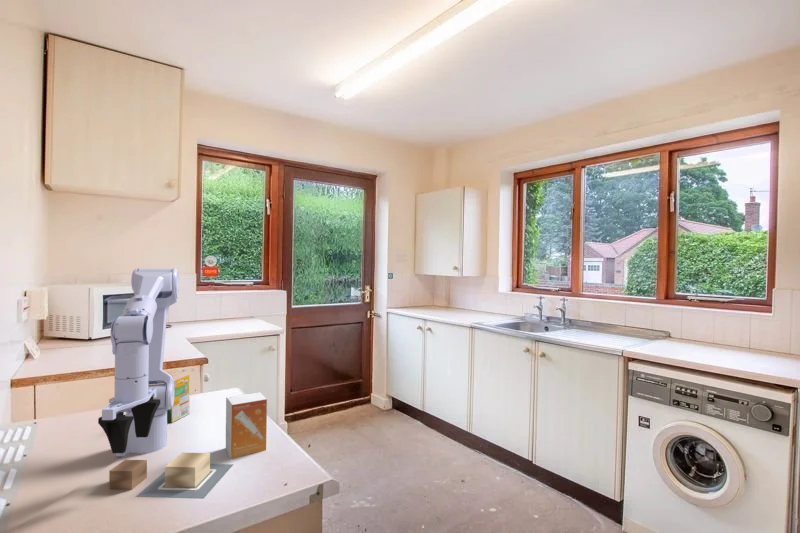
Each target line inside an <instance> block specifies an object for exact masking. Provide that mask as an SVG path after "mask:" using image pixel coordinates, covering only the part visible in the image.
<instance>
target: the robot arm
mask: <svg viewBox="0 0 800 533" xmlns="http://www.w3.org/2000/svg"><path fill="white" fill-rule="evenodd" d="M179 288H180V273H179V270H178V269H177V268H175V267H174V268H139V267H136V268H135V269H134V270H132V274H131V289H132V292H133V294H134V296H132V297H130V298H129V299H128V301H127V302H126V304H125V307H124V309H123V311H122V313H121V315H120V316H117V318H114V319H113V320H112V322H111V326H110V342H111V346H112V349H111V350H112V355H113V356H114V397H111V398H109V399H108V405H107V406H106V407H105V408H103V409H102V410H101V416H99V417H98V419H97V420H98V421H97V423H98V425H99V426H100V427H101V428H102V430H103V432H104V433H105V435H106V437H107V441H108V443H109V447H110V449H111V453H112V454H115V456H116V457H124V456H126V455H127V454H128V453H129V454H130V453H131V454H132V453H133V454H136V455H144V454H145V455H146V454H151V453H155V452H159V451H160V450H162V449H164V448H165V447H167V446H168V423H167V410H170V409H171V408H172V407H173V404H174V381H175V380H174V378H173V376H172V375H171V374H170V373H167V372H166V371H165V370H163V368H164V367H163V366H164V357H165V356H164V355H165V343H166V342H165V341H166V332H167V331H166V330H167V320H168V318H167V317H168V314H169V309H170V307H171V306H172V305H175V304H176V303H177V301H178V298H179ZM124 413H126V414H124Z"/></svg>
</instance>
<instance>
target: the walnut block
mask: <svg viewBox="0 0 800 533" xmlns="http://www.w3.org/2000/svg"><path fill="white" fill-rule="evenodd" d="M108 473H109V475H108V476H109V477H108V478H109V479H108V480H109V481H108V482H109V483H108V484H109V488H108V489H109V490H127V491H129V490H130V491H132V490H134V489H135V488H136V487H138V485H140V484H141V483H142V482H143V481H145V480H147V478H148V460H146V459H124V460H122V462H120V463H118V464H116V466H114V467H113V468H111V469H110V470H109V472H108Z"/></svg>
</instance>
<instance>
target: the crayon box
mask: <svg viewBox="0 0 800 533" xmlns="http://www.w3.org/2000/svg"><path fill="white" fill-rule="evenodd" d="M190 407H191V406H190V375H189V374H188V375H186V376H184V377H180V378H179V379H175V380H174V404H173V407H172V408H171V409H170V410H167V424H173V423H174V422H176V421H178V420H180V419H182V418H184V417H186V416H188V415H190V414H191V413H190Z"/></svg>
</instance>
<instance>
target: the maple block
mask: <svg viewBox="0 0 800 533" xmlns="http://www.w3.org/2000/svg"><path fill="white" fill-rule="evenodd" d="M210 464H211V452H209V453H208V452H181V453H179V455H177V456H176V457H174V459H172V460H171V461H170V462H168V463H167V465H165V466H164V472H165V487H191V488H195V487H196V486H197V485H198V484H199V483H200V482H201V481H202V480H203V479H204V478H205V477H206V476H207V475H208V474H209V473H210Z"/></svg>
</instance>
